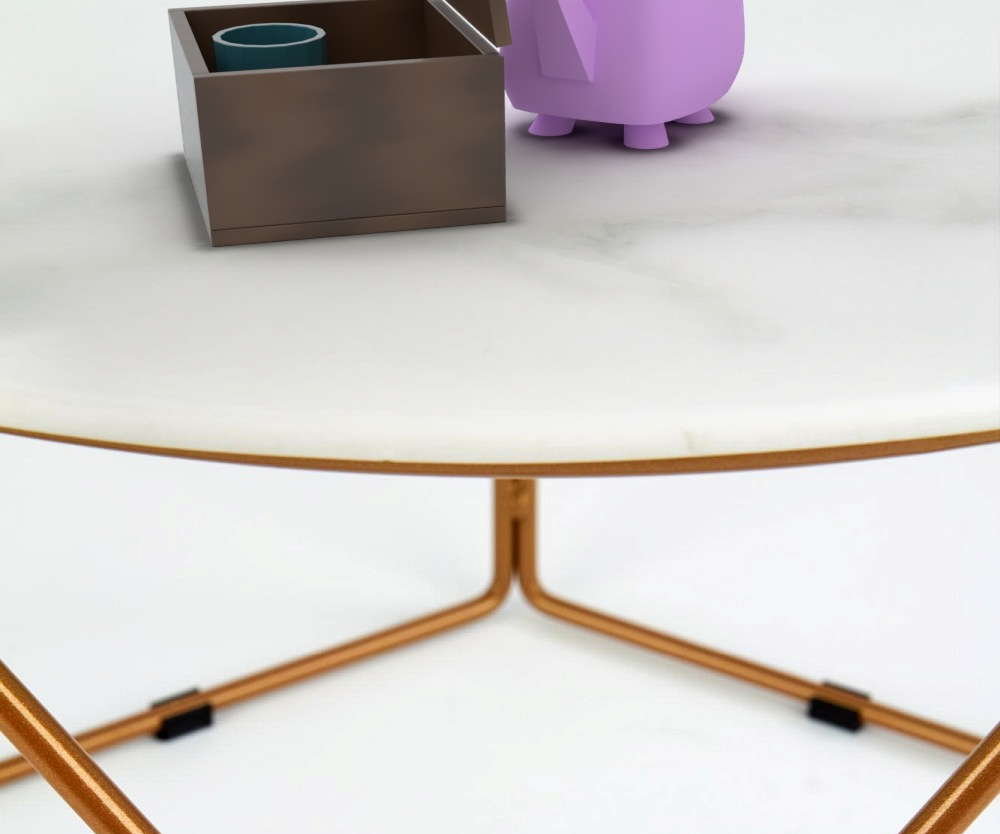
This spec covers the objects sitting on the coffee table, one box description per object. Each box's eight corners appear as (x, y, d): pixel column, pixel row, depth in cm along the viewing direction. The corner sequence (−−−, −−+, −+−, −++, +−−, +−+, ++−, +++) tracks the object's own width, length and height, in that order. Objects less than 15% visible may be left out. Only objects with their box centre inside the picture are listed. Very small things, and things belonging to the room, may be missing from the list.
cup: (233, 195, 87) (218, 49, 83) (222, 166, 91) (207, 27, 87) (342, 187, 88) (332, 42, 84) (326, 158, 92) (316, 20, 88)
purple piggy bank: (603, 78, 110) (607, -143, 103) (784, 99, 105) (802, -133, 98) (439, 153, 96) (430, -98, 89) (639, 182, 91) (646, -83, 83)
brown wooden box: (211, 247, 83) (193, 77, 78) (184, 157, 96) (167, 8, 92) (506, 222, 85) (504, 56, 81) (439, 138, 99) (434, -8, 94)
